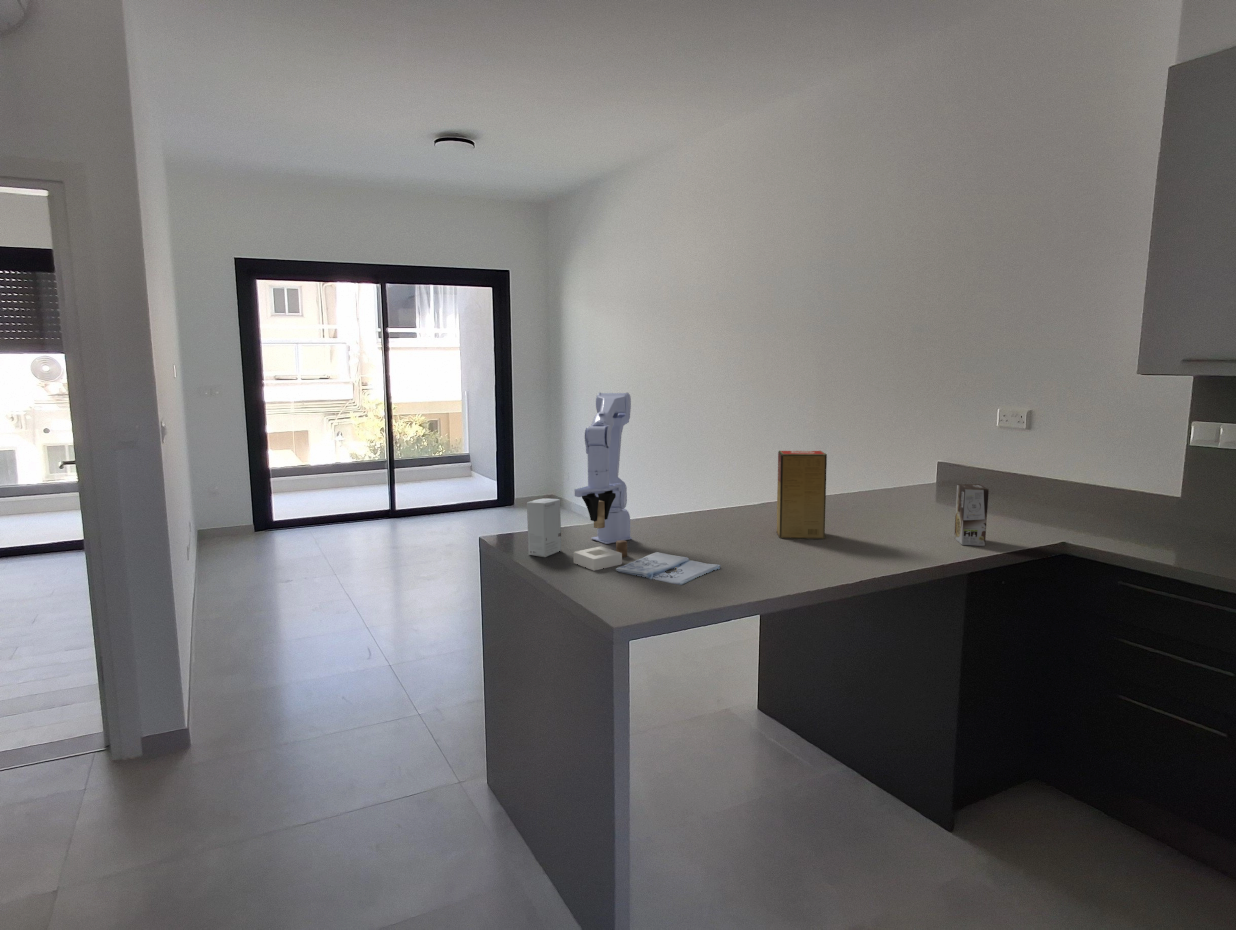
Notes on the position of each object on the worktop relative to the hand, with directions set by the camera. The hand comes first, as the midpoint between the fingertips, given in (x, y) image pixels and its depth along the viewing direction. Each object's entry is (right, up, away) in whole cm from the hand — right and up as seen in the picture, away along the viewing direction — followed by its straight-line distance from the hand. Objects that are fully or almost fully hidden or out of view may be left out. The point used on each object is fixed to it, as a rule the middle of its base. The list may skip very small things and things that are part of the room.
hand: (599, 519), depth 201 cm
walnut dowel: (+6, -10, -1) cm, 12 cm away
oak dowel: (0, -2, 0) cm, 2 cm away
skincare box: (-15, -10, +3) cm, 18 cm away
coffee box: (+105, -7, +9) cm, 106 cm away
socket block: (0, -11, -9) cm, 14 cm away
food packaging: (+59, -6, +19) cm, 63 cm away
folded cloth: (+18, -12, -15) cm, 26 cm away
